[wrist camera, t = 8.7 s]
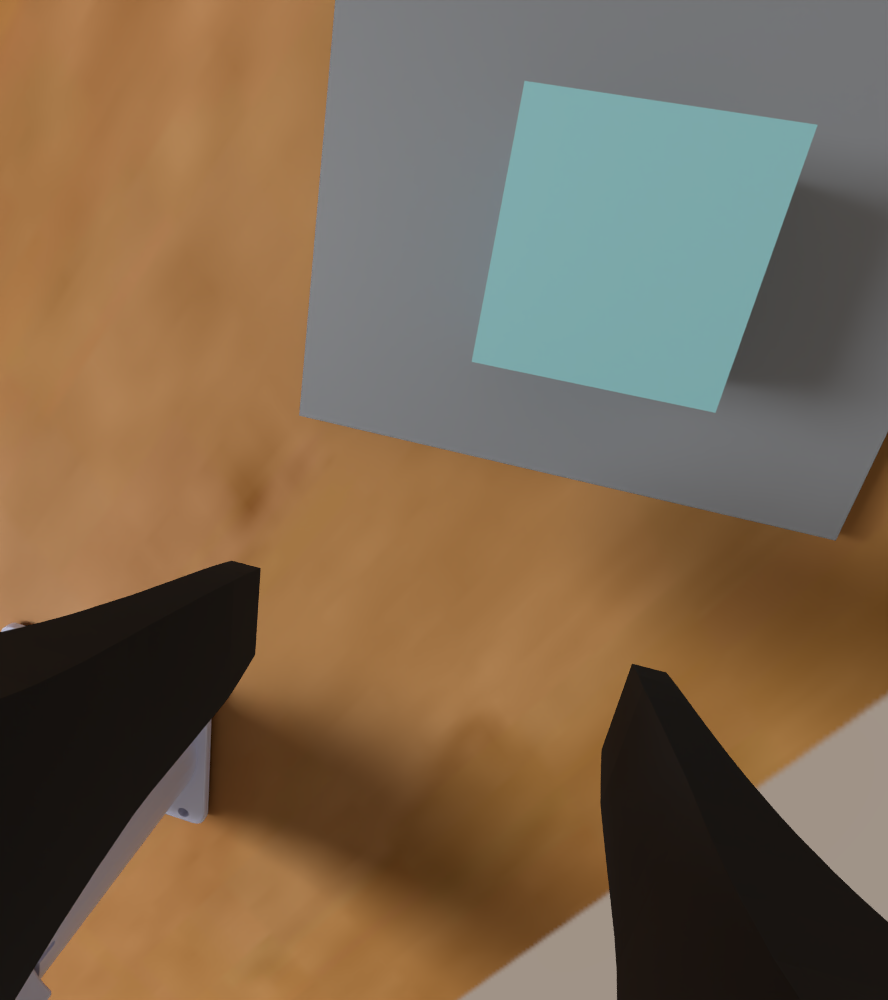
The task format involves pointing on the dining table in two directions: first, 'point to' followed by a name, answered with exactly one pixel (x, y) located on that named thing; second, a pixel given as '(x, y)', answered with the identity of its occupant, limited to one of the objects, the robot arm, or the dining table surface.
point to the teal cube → (634, 241)
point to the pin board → (474, 218)
